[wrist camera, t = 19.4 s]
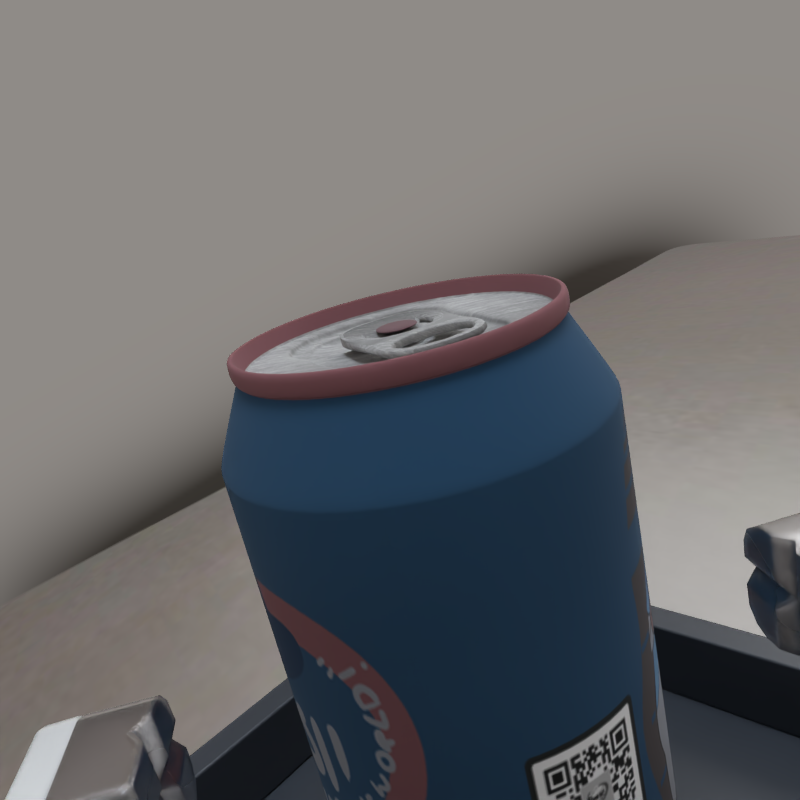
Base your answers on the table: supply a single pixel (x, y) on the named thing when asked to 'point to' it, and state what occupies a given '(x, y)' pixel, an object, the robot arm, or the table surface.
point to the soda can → (451, 546)
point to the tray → (684, 708)
